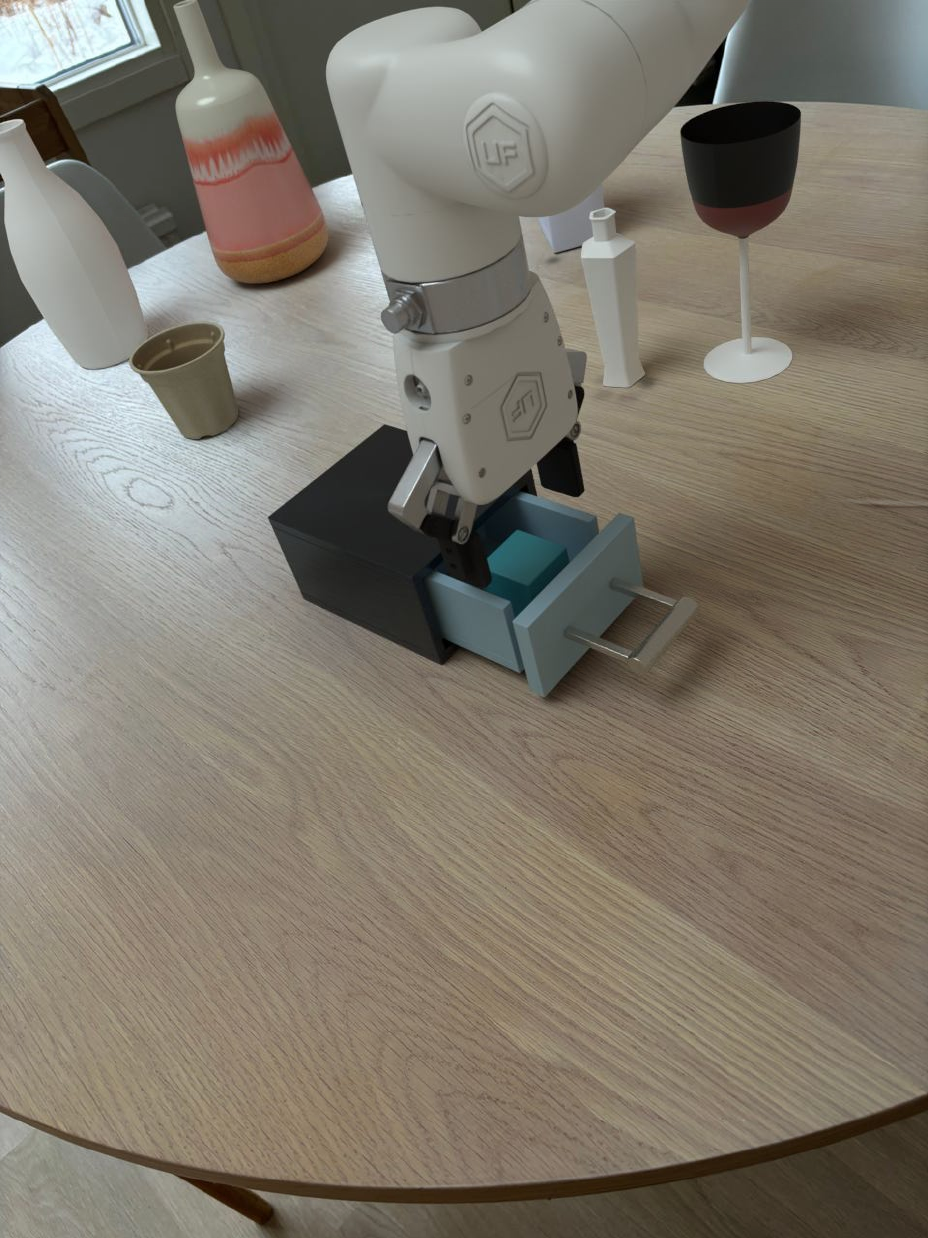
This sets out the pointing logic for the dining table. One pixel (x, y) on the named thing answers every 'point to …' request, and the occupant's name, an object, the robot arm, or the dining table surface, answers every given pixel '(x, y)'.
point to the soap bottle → (572, 223)
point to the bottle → (67, 258)
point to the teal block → (524, 568)
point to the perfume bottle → (613, 298)
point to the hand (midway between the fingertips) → (518, 533)
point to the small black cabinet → (371, 544)
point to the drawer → (557, 597)
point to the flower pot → (189, 377)
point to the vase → (244, 168)
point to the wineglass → (743, 206)
